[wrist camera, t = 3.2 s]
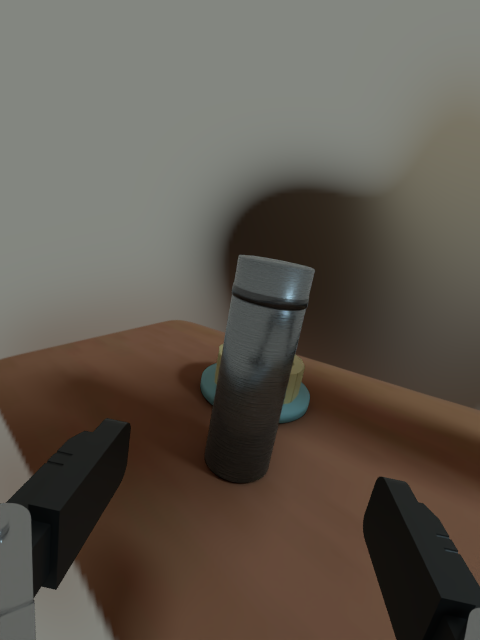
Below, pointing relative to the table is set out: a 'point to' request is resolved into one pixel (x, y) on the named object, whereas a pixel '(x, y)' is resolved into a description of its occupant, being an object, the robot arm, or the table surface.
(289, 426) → the table surface
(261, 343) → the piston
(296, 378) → the ring collar
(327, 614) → the table surface
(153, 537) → the table surface
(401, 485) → the robot arm
